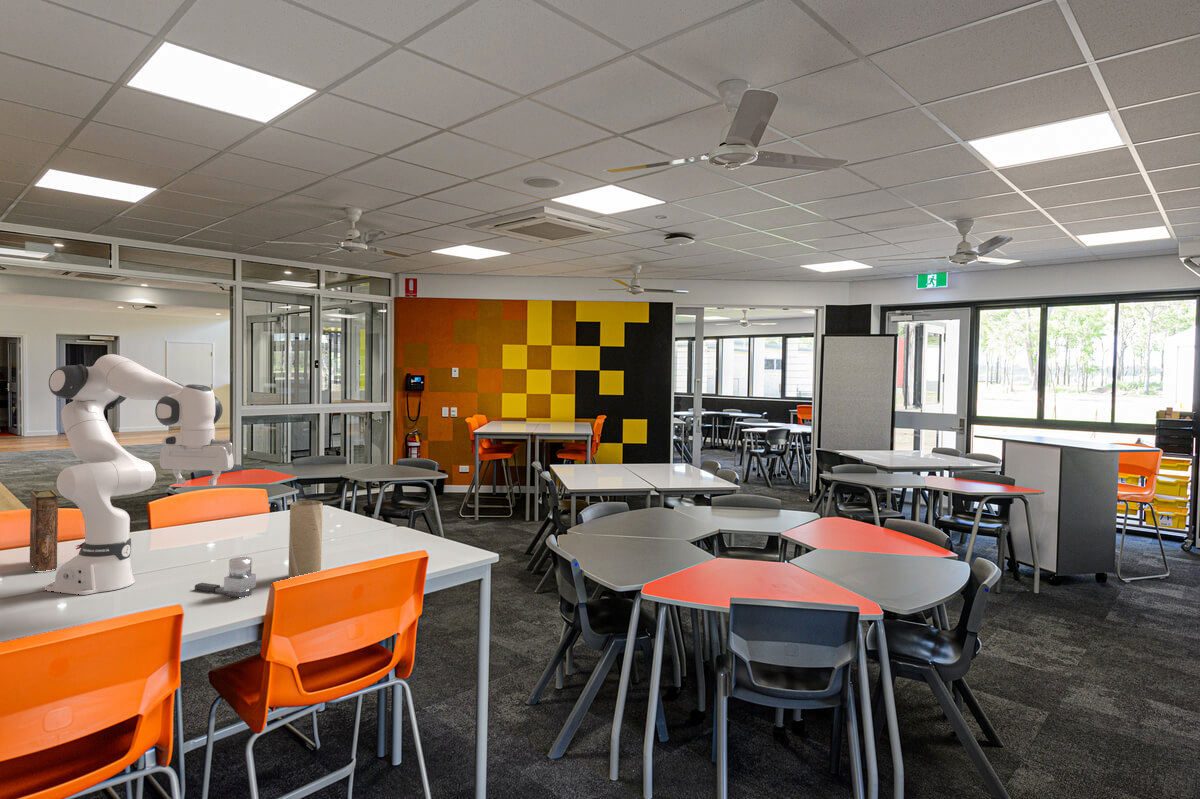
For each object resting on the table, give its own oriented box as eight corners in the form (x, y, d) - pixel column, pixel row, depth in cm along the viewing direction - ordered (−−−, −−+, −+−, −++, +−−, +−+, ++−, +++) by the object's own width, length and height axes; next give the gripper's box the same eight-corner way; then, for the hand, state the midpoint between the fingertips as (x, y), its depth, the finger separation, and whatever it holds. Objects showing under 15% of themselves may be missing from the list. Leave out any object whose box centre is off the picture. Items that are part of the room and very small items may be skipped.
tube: (288, 582, 209) (290, 506, 208) (288, 573, 218) (290, 501, 217) (321, 579, 213) (323, 505, 213) (320, 571, 222) (322, 499, 222)
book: (57, 570, 213) (58, 496, 212) (35, 573, 209) (37, 497, 208) (50, 560, 224) (51, 489, 223) (29, 562, 220) (30, 490, 219)
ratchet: (188, 592, 196) (188, 576, 196) (205, 586, 202) (206, 570, 202) (240, 599, 192) (240, 583, 191) (256, 593, 198) (256, 577, 198)
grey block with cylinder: (223, 590, 193) (224, 561, 193) (239, 584, 199) (240, 556, 199) (240, 592, 192) (241, 563, 191) (255, 586, 197) (256, 557, 197)
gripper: (238, 439, 195) (237, 484, 195) (170, 436, 194) (169, 481, 194) (226, 440, 188) (225, 487, 188) (156, 438, 188) (155, 485, 188)
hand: (196, 484), depth 191 cm, fingers open, 8 cm apart
